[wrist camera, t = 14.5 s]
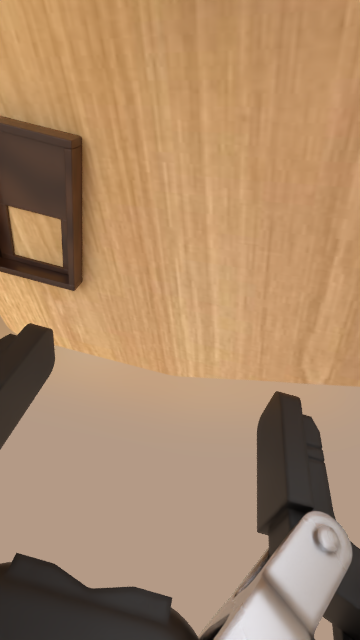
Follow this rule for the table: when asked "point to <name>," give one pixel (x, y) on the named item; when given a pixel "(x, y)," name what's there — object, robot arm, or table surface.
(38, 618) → the robot arm
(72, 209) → the tray
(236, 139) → the table surface
